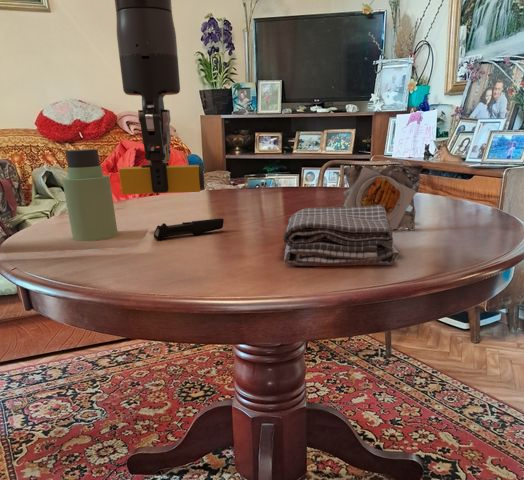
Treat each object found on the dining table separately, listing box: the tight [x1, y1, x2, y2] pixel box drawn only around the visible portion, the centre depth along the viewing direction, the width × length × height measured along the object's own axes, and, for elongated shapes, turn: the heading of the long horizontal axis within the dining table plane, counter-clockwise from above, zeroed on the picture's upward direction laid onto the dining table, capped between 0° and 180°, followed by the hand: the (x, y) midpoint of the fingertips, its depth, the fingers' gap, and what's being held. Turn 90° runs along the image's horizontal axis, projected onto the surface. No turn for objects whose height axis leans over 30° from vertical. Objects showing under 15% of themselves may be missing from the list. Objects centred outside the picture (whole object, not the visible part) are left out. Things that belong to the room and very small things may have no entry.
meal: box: [341, 164, 424, 230], centre depth 105 cm, size 15×4×13 cm, turn 90°
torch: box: [118, 164, 206, 195], centre depth 73 cm, size 12×3×4 cm, turn 95°
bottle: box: [61, 148, 119, 242], centre depth 102 cm, size 9×9×18 cm
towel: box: [282, 205, 399, 267], centre depth 87 cm, size 15×18×8 cm
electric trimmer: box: [153, 217, 225, 241], centre depth 109 cm, size 4×16×3 cm, turn 117°
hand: (162, 190), depth 74 cm, fingers closed on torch, 3 cm apart
